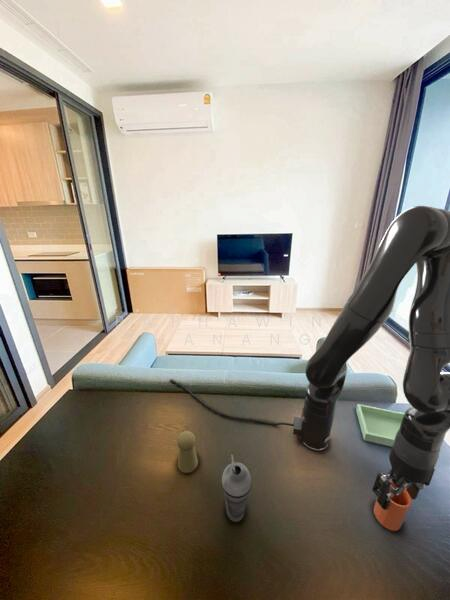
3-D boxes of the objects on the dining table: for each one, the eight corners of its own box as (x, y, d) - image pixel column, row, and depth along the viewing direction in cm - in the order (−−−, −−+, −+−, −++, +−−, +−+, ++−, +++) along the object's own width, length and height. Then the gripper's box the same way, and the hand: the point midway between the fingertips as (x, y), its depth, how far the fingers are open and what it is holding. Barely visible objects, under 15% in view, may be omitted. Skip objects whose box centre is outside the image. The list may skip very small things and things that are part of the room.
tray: (363, 440, 82) (365, 433, 81) (356, 410, 94) (357, 403, 93) (425, 454, 77) (428, 447, 76) (408, 421, 89) (411, 414, 88)
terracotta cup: (377, 525, 60) (385, 502, 56) (371, 500, 65) (378, 477, 62) (404, 534, 58) (415, 511, 55) (396, 507, 63) (405, 484, 60)
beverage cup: (248, 532, 58) (251, 475, 51) (218, 524, 60) (217, 468, 53) (251, 498, 65) (254, 444, 58) (224, 492, 66) (224, 439, 59)
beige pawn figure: (201, 458, 76) (200, 432, 72) (191, 476, 70) (189, 449, 67) (185, 450, 78) (183, 424, 74) (173, 467, 73) (171, 440, 69)
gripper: (422, 431, 59) (405, 477, 64) (373, 444, 55) (360, 492, 61) (456, 460, 52) (434, 509, 57) (403, 477, 49) (385, 527, 54)
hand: (396, 500), depth 59 cm, fingers open, 8 cm apart
